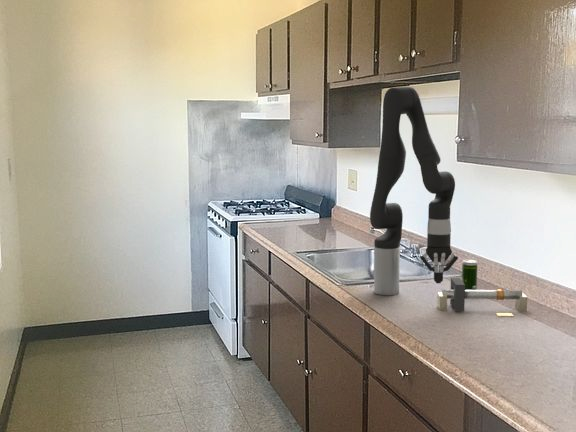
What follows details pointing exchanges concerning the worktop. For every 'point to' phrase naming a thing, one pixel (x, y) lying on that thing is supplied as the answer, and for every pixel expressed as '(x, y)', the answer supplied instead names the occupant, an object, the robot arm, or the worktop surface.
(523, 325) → the worktop surface
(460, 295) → the collar
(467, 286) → the beer can
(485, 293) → the pipe
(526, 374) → the worktop surface
